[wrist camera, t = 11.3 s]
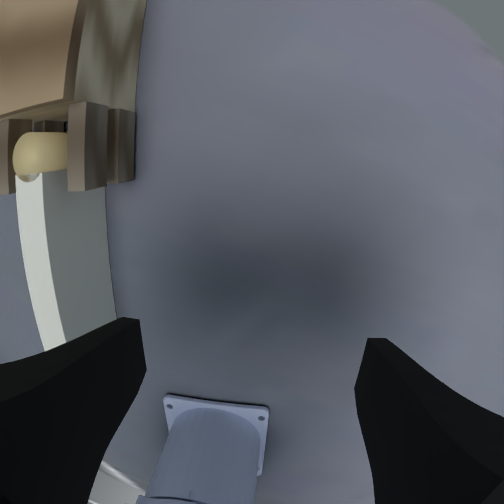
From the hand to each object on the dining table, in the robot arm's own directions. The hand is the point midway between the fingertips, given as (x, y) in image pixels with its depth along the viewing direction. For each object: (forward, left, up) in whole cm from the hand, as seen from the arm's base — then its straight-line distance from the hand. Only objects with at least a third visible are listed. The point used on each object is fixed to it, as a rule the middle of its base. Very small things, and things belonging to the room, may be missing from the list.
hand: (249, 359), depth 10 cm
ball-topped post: (-2, +11, -9) cm, 15 cm away
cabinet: (+11, +16, -9) cm, 21 cm away
